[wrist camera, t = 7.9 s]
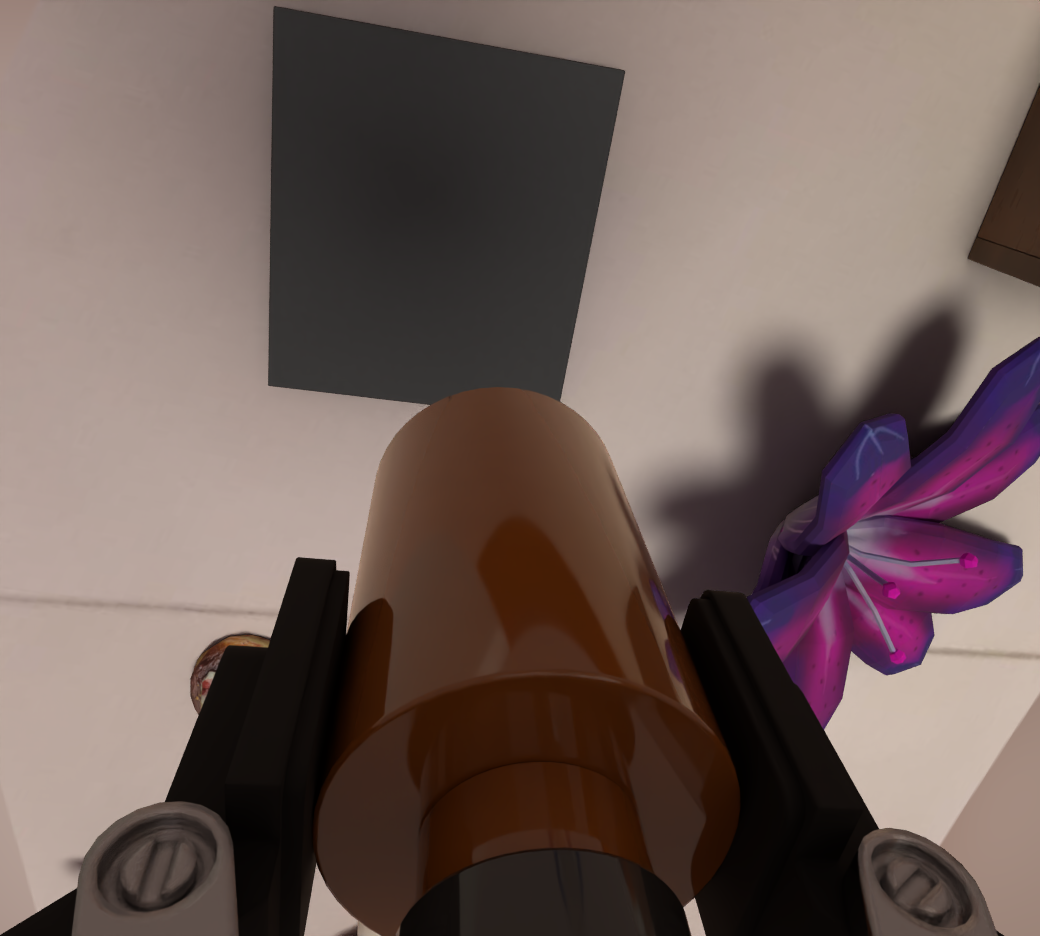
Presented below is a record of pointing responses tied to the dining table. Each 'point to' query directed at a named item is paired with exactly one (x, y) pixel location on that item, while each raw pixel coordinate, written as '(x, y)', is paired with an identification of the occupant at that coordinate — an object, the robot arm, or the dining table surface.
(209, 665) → the pastry
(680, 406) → the dining table surface
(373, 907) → the spice bottle
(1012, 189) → the miniature metal chair
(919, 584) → the decorative flower
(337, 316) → the mat
